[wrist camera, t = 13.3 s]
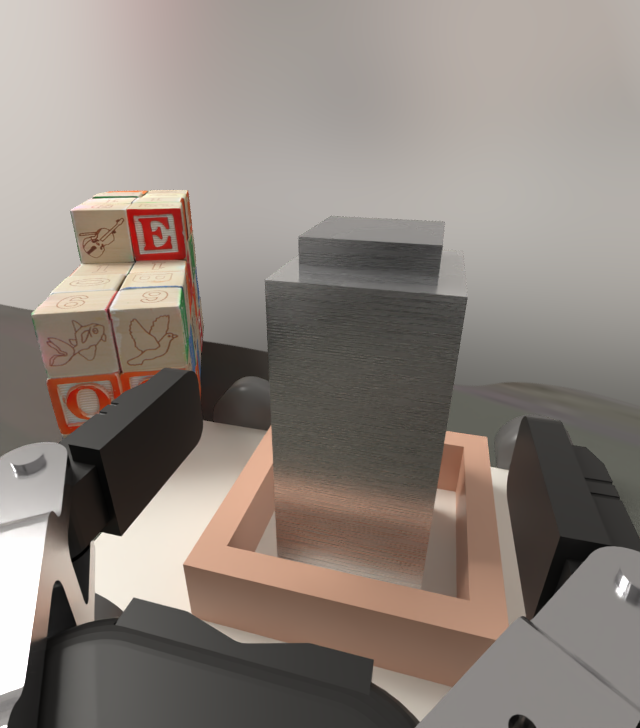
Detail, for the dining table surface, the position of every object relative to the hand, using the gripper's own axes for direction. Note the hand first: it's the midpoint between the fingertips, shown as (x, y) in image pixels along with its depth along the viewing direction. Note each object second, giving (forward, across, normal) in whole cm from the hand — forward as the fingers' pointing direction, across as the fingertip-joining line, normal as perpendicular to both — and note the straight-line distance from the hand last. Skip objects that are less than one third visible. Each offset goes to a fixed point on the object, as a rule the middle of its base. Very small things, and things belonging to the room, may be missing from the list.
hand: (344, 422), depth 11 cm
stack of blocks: (+16, +17, +10) cm, 25 cm away
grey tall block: (+4, 0, +8) cm, 9 cm away
